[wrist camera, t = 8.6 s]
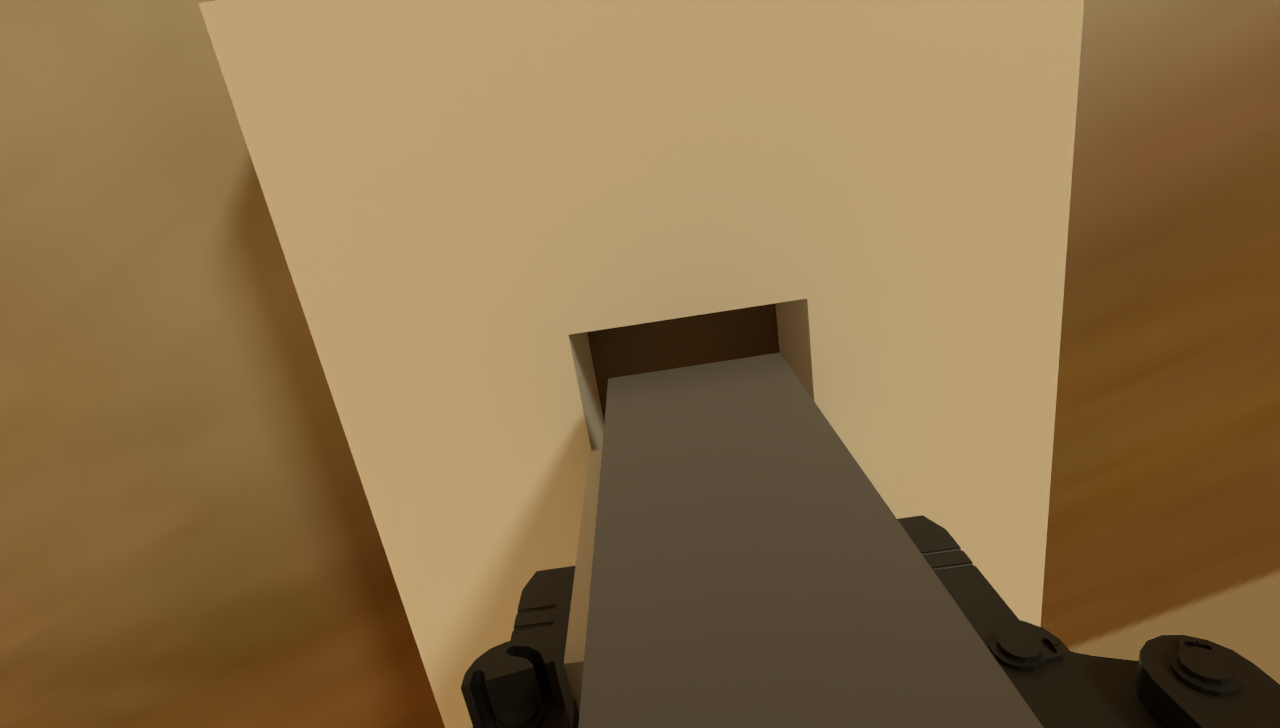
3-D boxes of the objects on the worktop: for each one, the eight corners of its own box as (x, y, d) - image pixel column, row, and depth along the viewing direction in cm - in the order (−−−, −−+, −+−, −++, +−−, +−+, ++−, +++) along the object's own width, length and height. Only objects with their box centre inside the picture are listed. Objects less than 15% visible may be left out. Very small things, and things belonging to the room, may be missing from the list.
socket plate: (986, -86, 16) (1094, -154, 12) (970, 568, 23) (1038, 653, 19) (294, 33, 17) (198, 3, 13) (475, 635, 23) (446, 730, 20)
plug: (779, 352, 15) (1049, 735, 5) (798, 568, 17) (1017, 1124, 7) (608, 378, 15) (572, 795, 5) (646, 588, 17) (670, 1162, 7)
